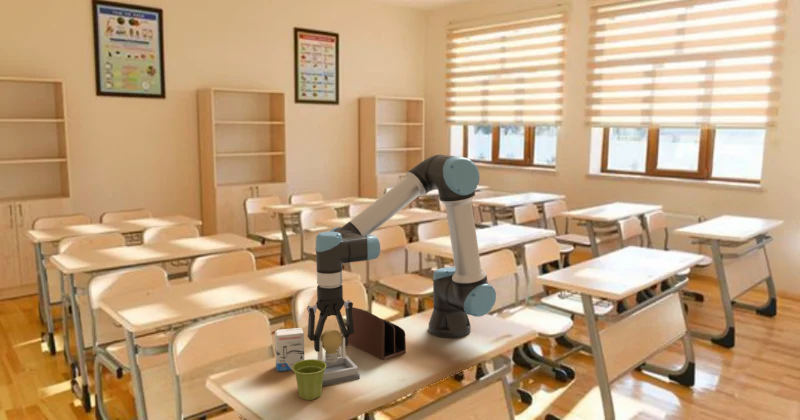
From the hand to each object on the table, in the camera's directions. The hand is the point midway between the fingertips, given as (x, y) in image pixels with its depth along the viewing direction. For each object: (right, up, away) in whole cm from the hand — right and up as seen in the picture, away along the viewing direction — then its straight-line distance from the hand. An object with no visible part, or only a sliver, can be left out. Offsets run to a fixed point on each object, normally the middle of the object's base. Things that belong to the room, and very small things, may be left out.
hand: (331, 358), depth 181 cm
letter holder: (+12, -2, +22) cm, 25 cm away
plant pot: (-5, -7, -12) cm, 15 cm away
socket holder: (0, -5, +1) cm, 5 cm away
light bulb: (0, -1, 0) cm, 1 cm away
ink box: (-14, -5, +7) cm, 16 cm away
